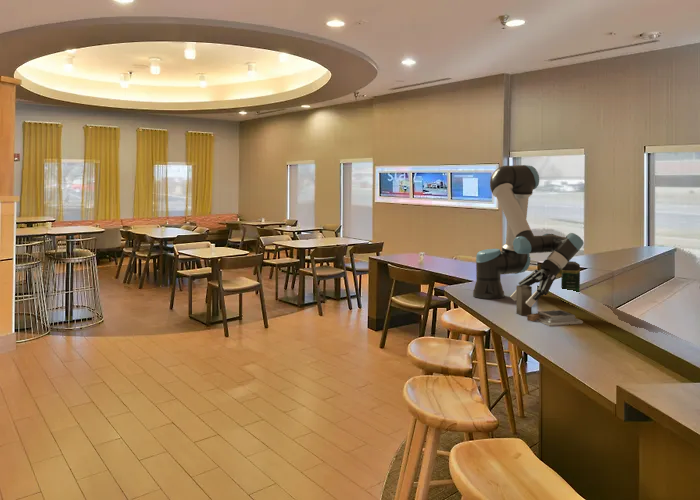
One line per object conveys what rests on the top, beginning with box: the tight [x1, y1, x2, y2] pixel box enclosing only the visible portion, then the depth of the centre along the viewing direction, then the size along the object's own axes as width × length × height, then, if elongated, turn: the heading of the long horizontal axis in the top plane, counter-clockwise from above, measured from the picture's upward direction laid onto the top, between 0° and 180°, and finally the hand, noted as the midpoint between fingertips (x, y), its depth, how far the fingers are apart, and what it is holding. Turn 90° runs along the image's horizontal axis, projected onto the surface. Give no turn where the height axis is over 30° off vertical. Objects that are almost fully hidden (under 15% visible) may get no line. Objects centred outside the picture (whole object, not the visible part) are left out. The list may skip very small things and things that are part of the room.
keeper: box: [536, 309, 584, 327], centre depth 201 cm, size 14×14×3 cm
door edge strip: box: [526, 312, 540, 322], centre depth 207 cm, size 2×16×2 cm, turn 120°
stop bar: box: [515, 284, 533, 317], centre depth 213 cm, size 4×4×12 cm
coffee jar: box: [560, 260, 581, 292], centre depth 236 cm, size 10×8×19 cm
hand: (519, 302), depth 213 cm, fingers open, 13 cm apart
